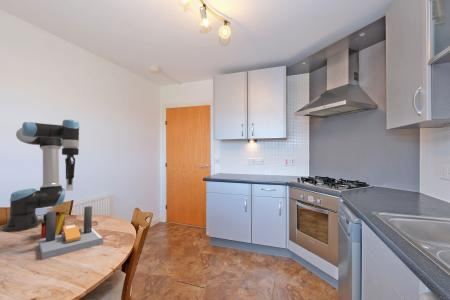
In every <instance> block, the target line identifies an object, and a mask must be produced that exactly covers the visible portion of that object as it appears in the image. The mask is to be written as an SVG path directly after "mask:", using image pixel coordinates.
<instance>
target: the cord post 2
mask: <svg viewBox="0 0 450 300" xmlns="http://www.w3.org/2000/svg"><path fill="white" fill-rule="evenodd" d="M83 211H84V213H83V230H84V233H85V234H86V233H90V232H91V228H93V227H92V221H93V219H92V218H93V216H92V215H93V206H91V205H90V206H89V205H88V206H84V207H83Z"/></svg>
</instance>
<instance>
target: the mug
mask: <svg viewBox="0 0 450 300" xmlns="http://www.w3.org/2000/svg"><path fill="white" fill-rule="evenodd" d="M55 212H56V223H55V236H57V235H62V232H63V226H66V225H65V224H66V212H65V211H55ZM46 216H47V213H45V214H43V218H42V219H43V220H42V222H41V227H40V228H41V229H40V231H41V233H40V239H43V238H46Z"/></svg>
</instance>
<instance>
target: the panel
mask: <svg viewBox="0 0 450 300" xmlns="http://www.w3.org/2000/svg"><path fill="white" fill-rule="evenodd" d="M78 229H79V232H80V234H81V239H80V240H76V241H71V242H67V243H66V240H65V236H64V232H62V235H57V236H55V240H54V241H50V242H46V238H43V239H41V238H39V239H38V247H39V252H40V255H41V258H42V259H41V260H45V259H50V258H54V257H57V256H61V255H64V254H68V253H73V252H77V251H79V250H80V249H81V250H85V249H88V248H91V246H92V247H96V246H100V245H103V244H104V237H103V236H102V235H101V234H100V233H99V232H98V231H97V230H96V229H95V228H93V227H91V232H90V233H86V234H85V233H84V229H82V228H79V227H78ZM95 245H96V246H95ZM87 247H88V248H87ZM84 248H85V249H84ZM81 250H80V251H81Z"/></svg>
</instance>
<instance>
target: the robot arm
mask: <svg viewBox="0 0 450 300" xmlns="http://www.w3.org/2000/svg"><path fill="white" fill-rule="evenodd" d="M15 136H16V138H17V139H18V140H19V141H20V142H21V143H22V142H23V143H25V144H27V145H35V146H39V149H41V150H42V185H41V186H40V187H39V189H38V190H37V188H27V189H20V190H17V191H13V192H11V194H10V199H9V202H10V204H9V217H8V220H7V221H6V224H5V226H4V230H5V232H19V231H25V230H29V229H33V228H36V227H38V226H39V223H40V222H39V219H38V217H37V215H36V214H37V213H36V210H37V209H43V208H51V207H57V206H61V205H62V204H63V203H64V201H65V198H66V192H67V191H69V192H70V191H74V178H75V167H76V166H75V165H76V158H75V156H78V155H79V150H80V149H79V147H80V122H79V121H78V120H74V119H64V120H63V121H62V124H51V123H40V122H33V121H29V122H28V121H24V122H23V123H22V127H21V128H19V129H17V131H16V135H15ZM60 149H61V155H62V156H66V157H65V158H64V159H65V162H64V163H65V181H66V183H65V184H66V185H65V187H63V186H62V184H60V165H59V164H60V162H59V161H60V160H59V156H60V155H59V154H60V152H59V150H60ZM65 188H66V189H65Z"/></svg>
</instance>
